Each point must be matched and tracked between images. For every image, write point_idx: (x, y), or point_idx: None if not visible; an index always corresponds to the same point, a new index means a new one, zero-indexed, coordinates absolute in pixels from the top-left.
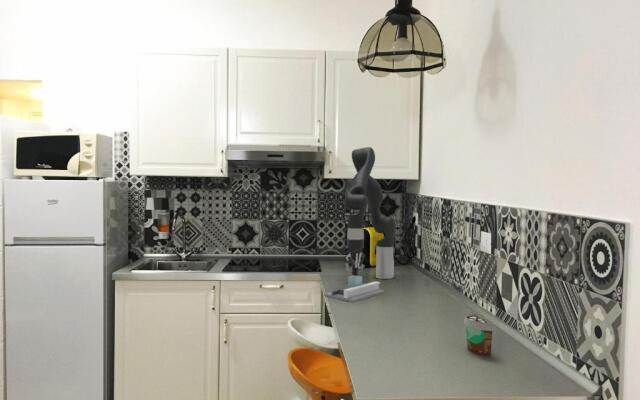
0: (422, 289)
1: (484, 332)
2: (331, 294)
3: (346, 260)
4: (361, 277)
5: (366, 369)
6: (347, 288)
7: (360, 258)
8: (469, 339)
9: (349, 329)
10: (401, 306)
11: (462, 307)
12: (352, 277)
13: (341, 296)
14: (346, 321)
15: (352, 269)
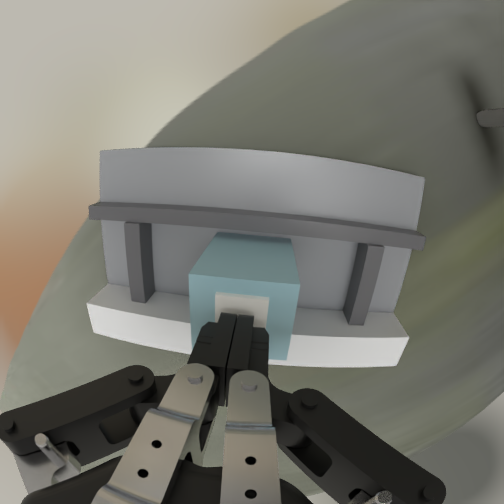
0: (463, 392)
1: None
2: (105, 196)
3: (39, 406)
4: (275, 355)
5: (9, 410)
6: (223, 228)
7: (339, 486)
8: None
9: (21, 380)
10: (213, 441)
11: (302, 489)
12: (195, 318)
13: (112, 264)
14: (28, 367)
15: (191, 358)
